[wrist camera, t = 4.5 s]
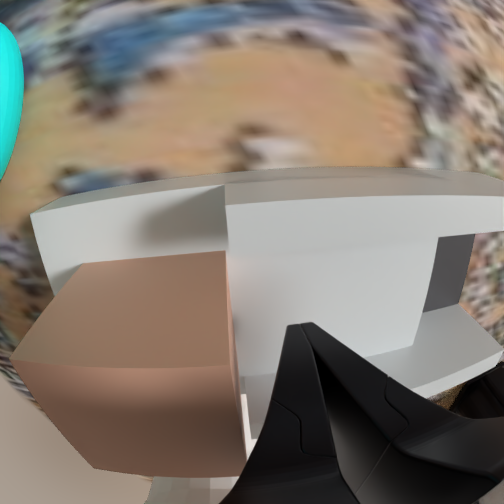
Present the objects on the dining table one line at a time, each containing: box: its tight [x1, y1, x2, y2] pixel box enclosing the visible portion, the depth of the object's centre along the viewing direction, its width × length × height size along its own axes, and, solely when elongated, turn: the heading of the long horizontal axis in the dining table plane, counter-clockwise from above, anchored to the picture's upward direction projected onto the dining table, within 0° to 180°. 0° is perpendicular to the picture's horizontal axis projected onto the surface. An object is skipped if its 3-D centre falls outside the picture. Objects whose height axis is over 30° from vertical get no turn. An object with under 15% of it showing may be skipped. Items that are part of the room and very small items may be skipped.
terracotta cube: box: [9, 250, 247, 478], centre depth 8 cm, size 5×5×5 cm
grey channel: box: [30, 167, 504, 439], centre depth 11 cm, size 9×20×5 cm, turn 94°
